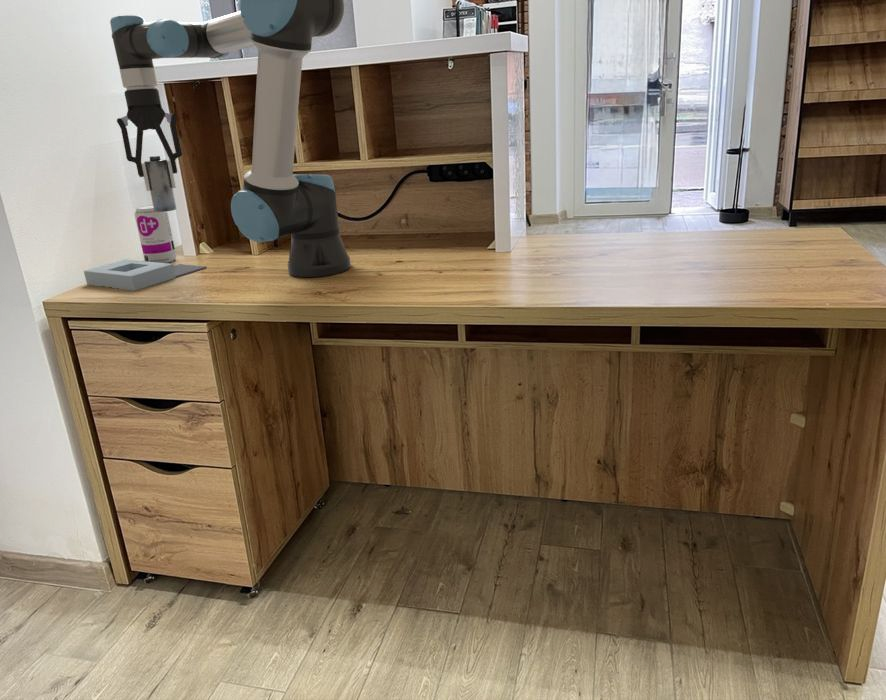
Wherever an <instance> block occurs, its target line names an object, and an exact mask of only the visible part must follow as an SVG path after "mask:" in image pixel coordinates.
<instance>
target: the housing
mask: <svg viewBox="0 0 886 700" xmlns="http://www.w3.org/2000/svg"><path fill="white" fill-rule="evenodd" d="M173 266H174V264H173V263H157V262H146V261H145V260H144V261H143V260H134V259H124V260H119V261H115V262H112V263H108V264H104V265H100V266H98V267H94V268H89V269H86V270H83V274H84V277H85V282H86V285H87V286H93V285H94V287H101V286H105V287H104V288H109V287H112V288H111V289H117V288H119V290H127V291H134V292H135V291H139V290H141V289H145V288H148V287H151V286H154V285H158V284H161V283H163V282H167V281H171V280H173V279H176V277H175V272H174V267H173Z"/></svg>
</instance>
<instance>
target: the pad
mask: <svg viewBox="0 0 886 700" xmlns="http://www.w3.org/2000/svg"><path fill="white" fill-rule="evenodd" d="M173 267H174V272H175V277H176V278H180V277H182V276H186V275H188V274H192V273H195V272H198V271H202V270H204V269H205V270H206V269H207V266H206V265H205V266H203V265H195V264H194V265H193V264H181V263H179V264H175V265H173ZM176 278H175V279H176Z"/></svg>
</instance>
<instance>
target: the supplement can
mask: <svg viewBox="0 0 886 700" xmlns="http://www.w3.org/2000/svg"><path fill="white" fill-rule="evenodd" d="M168 213H169V212H168V211H166V212H154V207H153V204H150V205H142V206H139V207H136V208H135V213H134V218H135V223H136V227H137V231H138V236H139V241H140V246H141V250H142V254H143V255H142V256H143V259H144V261H146V262H157V263H167V264H170V263H172V262H175V259H176V258H177V254H176V249H175V248H176V247H175V244H174V239H173V234H172V230H171V229H172V228H171V223H170V219H169V214H168Z"/></svg>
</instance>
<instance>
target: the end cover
mask: <svg viewBox="0 0 886 700" xmlns="http://www.w3.org/2000/svg"><path fill="white" fill-rule="evenodd" d="M167 160H168V159H165V158H164V159H162V158H161V156H160V155H153V156H152V155H151V156H149V160H145V161H143V163H145V166H146V171H147V176H148V181H149V186H150V191H149V192H150V196H151V200H152V201H151V202H152V205H153V207H154V212H166V211H167V212H172V211H175V210H177V205H176V200H175V196H174V195H175V193H174V191H173V190H174V188H172V184H171V179H170V174H169V169H168V164H167Z"/></svg>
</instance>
